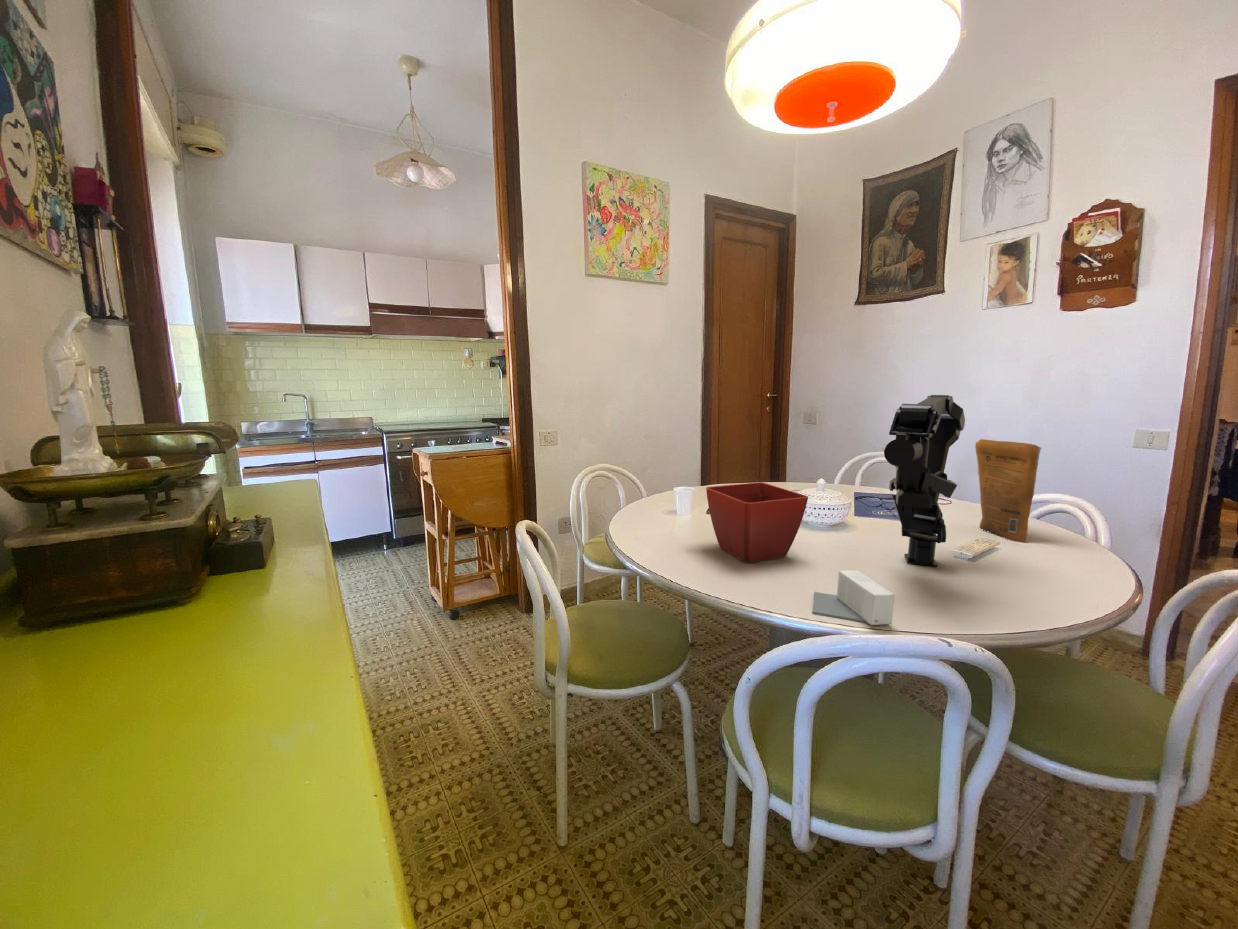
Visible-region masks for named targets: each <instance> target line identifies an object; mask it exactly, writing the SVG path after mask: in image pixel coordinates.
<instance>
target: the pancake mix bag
mask: <svg viewBox="0 0 1238 929" xmlns="http://www.w3.org/2000/svg"><path fill="white" fill-rule="evenodd" d="M974 445H975V446H974V449H975V454H976V462H977V474H978V484H979V494H980V496H979V498H980V508H981V509H980V510H981V520H980V523H979V528H981V529H983V530H982V531H984V530H985V531H984V532H987V531H989V532H991V533H990V534H992V533H993V535H995V534H997V535H996V536H998V535H999V536H998V537H1001V538H1003V537H1005V538H1004V539H1006V538H1007V539H1006V540H1008V539H1010V540H1009V541H1013V542H1019V541H1021V543H1028V530H1029V529H1028V528H1029V518H1030V515H1031V514H1030V513H1031V507H1032V502H1033V497H1034V494H1035V485H1036V480H1037V472H1038V466H1039V460H1040V455H1041V454H1040V453H1041V450H1042V447H1041V446H1038V445H1036V444H1031V443H1026V442H1015V441H1004V440H1003V441H1002V440H993V439H991V440H990V439H984V438H983V439H981V438H980V439H979V440H978V441H975V444H974ZM981 529H980V530H981ZM989 532H988V533H989Z"/></svg>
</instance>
